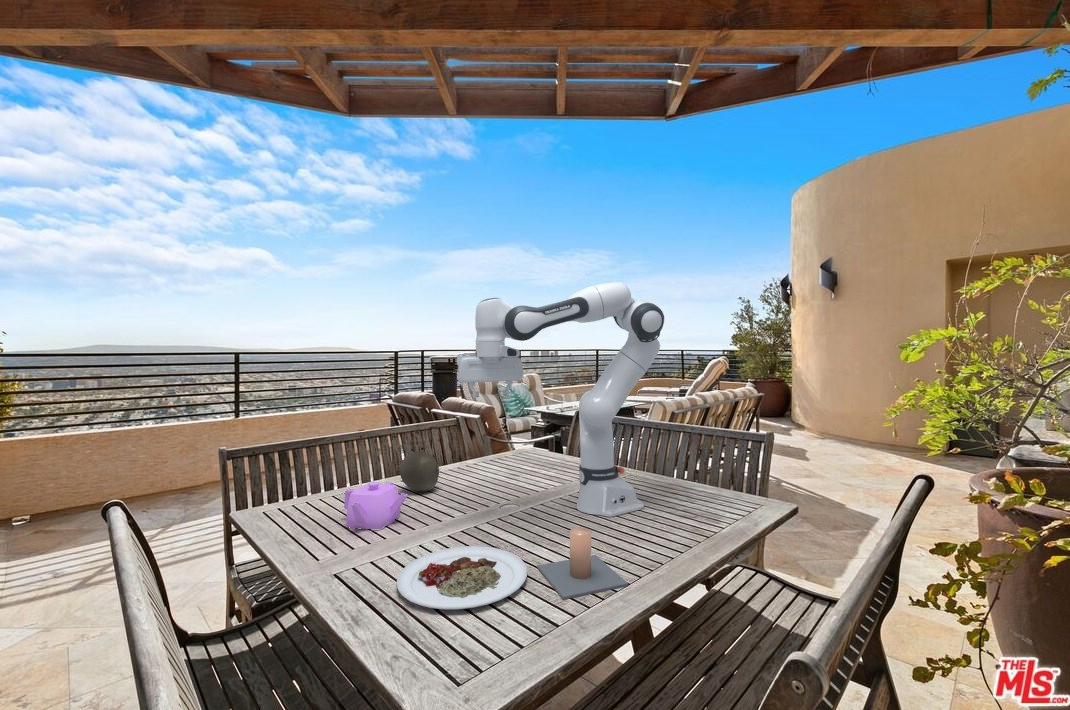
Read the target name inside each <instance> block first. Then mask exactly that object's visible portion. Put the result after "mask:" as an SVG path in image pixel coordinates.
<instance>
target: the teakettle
mask: <svg viewBox="0 0 1070 710" xmlns="http://www.w3.org/2000/svg"><path fill="white" fill-rule="evenodd" d="M407 497H408V494H407V493H403V492H402V493H400V494H399V490H398V487H397V485H396V484H394V482H389V481H388V482H385V483H380V482H378V481H372V482H369V483H368V484H365V485H363V486H361V487H359V488H349V489H346V490H345V491H344V502H343V504H344V506H343V508H344V509H346V524H347V527H350V528H361V529H381V528H383V527H385V526H387V525H388V526H389V524H390V523H391V524H393V523H394V522H395V521H396V520H398V518H399V517H400V513H401V509H402V508H401V507H402V506H403V504H404V502H405V501H406V499H407ZM398 516H399V517H398ZM395 519H396V520H395ZM394 520H395V521H394ZM393 521H394V522H393ZM392 522H393V523H392ZM391 524H390V525H391ZM388 526H387V527H388ZM350 528H349V529H350ZM385 528H386V527H385ZM383 529H384V528H383ZM381 530H382V529H381Z"/></svg>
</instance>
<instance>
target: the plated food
mask: <svg viewBox="0 0 1070 710" xmlns="http://www.w3.org/2000/svg"><path fill="white" fill-rule="evenodd" d="M527 576H528V567H527V565H526V563H525V562H524V561H523V560H522V558H520V557H519V556H518V555H516V554H514V553H512V552H510V551H507V550H504V549H502V548H501V549H500V548H497V547H491V546H481V545H480V546H478V545H469V546H468V545H466V546H456V547H455V546H454V547H449V548H443V549H440V550H436V551H433V552H429V553H427V554H424V555H422V556H420V557H418V558H415V559H414V560H413V561H411V562H409V563H408V564H407V565H405V567H404V568H402V570H401V571H400V572H399V574H398V575H397V578H396V579H397V580H396V587H397V591H398V592H399V593H400V595H401V596H402V597H403V598H405V599H406V600H408V602H411V603H412V604H416V605H419V606H421V607H424V608H425V607H426V608H430V609H436V610H437V609H439V610H463V609H473V608H478V607H483V606H486V605H489V604H493V603H495V602H499V601H501V600H503V599H505V598H507V597H509V596H511V595H513V594H514V593H515V592H517V591H518V590H519V589H520V588H521V587H522V586H523V585H524V584H525V582H526V580H527V578H528V577H527Z"/></svg>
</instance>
